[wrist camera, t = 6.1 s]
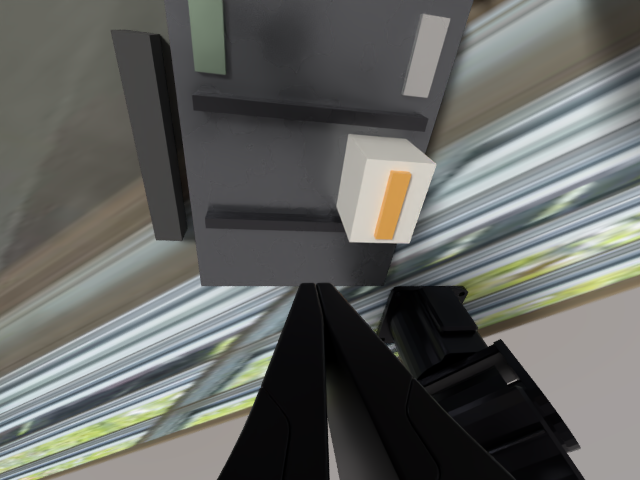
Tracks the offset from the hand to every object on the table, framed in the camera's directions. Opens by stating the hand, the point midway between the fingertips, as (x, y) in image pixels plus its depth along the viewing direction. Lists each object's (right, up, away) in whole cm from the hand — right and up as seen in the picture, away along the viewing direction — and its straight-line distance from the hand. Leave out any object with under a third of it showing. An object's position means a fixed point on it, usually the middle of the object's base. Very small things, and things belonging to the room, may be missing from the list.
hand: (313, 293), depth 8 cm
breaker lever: (+3, +5, +8) cm, 10 cm away
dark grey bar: (-8, +6, +8) cm, 13 cm away
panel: (-1, +6, +9) cm, 11 cm away
